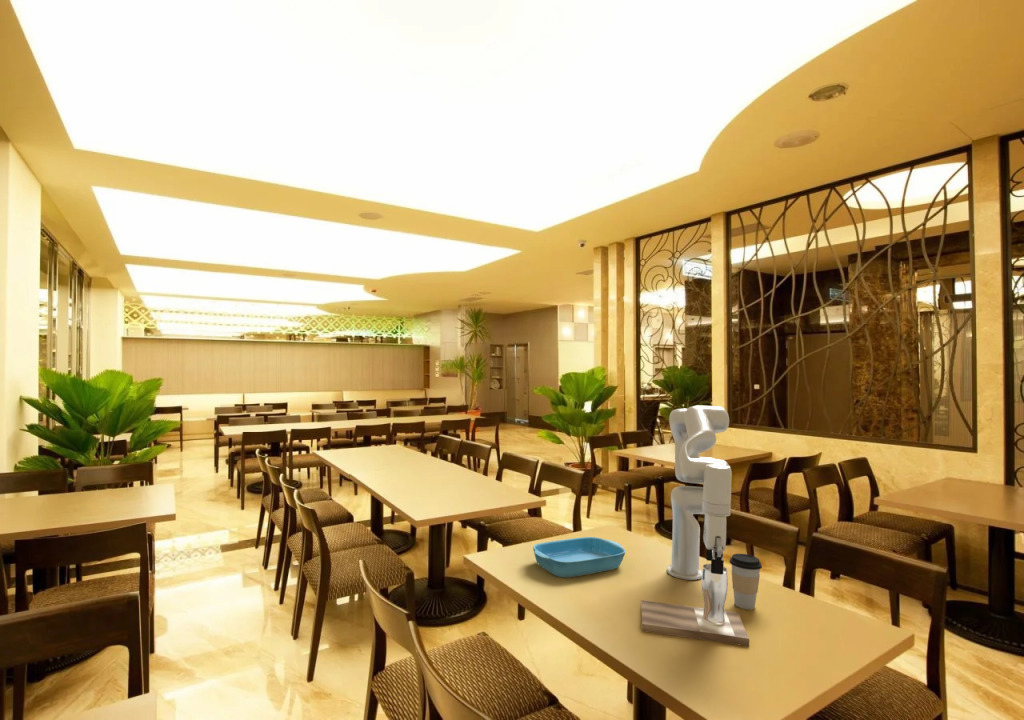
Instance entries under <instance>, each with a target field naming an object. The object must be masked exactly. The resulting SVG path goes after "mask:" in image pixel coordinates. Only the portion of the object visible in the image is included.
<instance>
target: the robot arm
mask: <svg viewBox="0 0 1024 720" xmlns="http://www.w3.org/2000/svg"><path fill="white" fill-rule="evenodd" d="M729 416H730V415H729V413H728V411H727V410H726V409H725V408H724V407H722V406H717V405H716V406H713V405H693V406H689V407H687V408H676V409H673V410H671V412H670V414H669V418H668V420H669V421H668V422H669V428H670V431H671V435H672V438H673V442H674V471H675V477H676V480H678V481H680V482H683V483H689V484H699V485H700V484H702V485H703V487H702V486H692V485H679V486H676V487H673V489H672V490H671V492H670V503H671V513H672V532H671V533H672V535H671V536H672V539H671V564H669V565H668V566H667V567H666V572H667V573H668V574H669V575H670V576H672V577H675V578H677V579H681V580H688V581H696V580H697V579H698V580H702V571H703V570H701V569H700V545H701V544H700V542H701V541H700V540H701V538H700V537H701V527H700V524H699V521H698V520H697V519H696V518H695V516H694V515H704V524H703V535H702V539H703V540H702V541H703V544H704V545H705V549H706V551H705V552H706V554H705V559H706V561H710V564H711V573H713V574H721V575H722V574H723V567H725V566H724V561H725V560H724V551H725V550H726V543H727V517H729V516H731V507H732V503H731V502H732V480H733V479H732V477H733V475H732V473H733V472H732V468H731V466H730V465H729V463H728V462H727V461H726V460H724V459H717V458H715V457H707V456H700V454H701V453H703V452H707V451H709V450H711V449H712V448H713V447H714V446H715V445H716V442H717V435H716V434H720V433H723V432H726V431H727V430H728V428H729V426H730V417H729Z"/></svg>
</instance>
